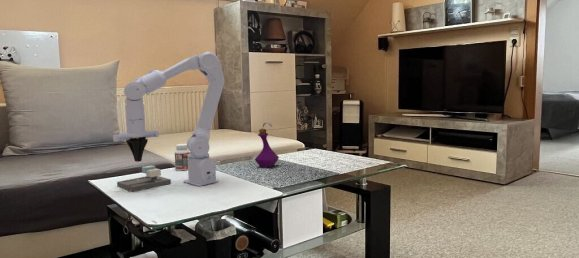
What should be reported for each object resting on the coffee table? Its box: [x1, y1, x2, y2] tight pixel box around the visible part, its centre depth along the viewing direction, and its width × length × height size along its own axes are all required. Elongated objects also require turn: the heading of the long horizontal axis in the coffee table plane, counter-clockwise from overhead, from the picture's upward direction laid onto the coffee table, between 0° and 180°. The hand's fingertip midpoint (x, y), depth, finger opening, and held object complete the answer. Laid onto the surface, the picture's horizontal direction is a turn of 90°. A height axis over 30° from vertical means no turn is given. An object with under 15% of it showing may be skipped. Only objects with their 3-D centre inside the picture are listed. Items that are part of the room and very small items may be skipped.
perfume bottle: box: [254, 121, 280, 169], centre depth 167 cm, size 8×8×18 cm
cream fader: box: [147, 168, 162, 180], centre depth 141 cm, size 3×4×3 cm
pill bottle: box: [174, 143, 191, 172], centre depth 165 cm, size 6×6×10 cm
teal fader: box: [141, 165, 157, 177], centre depth 146 cm, size 3×4×3 cm
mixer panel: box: [116, 175, 172, 192], centre depth 141 cm, size 11×14×2 cm
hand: (138, 161), depth 136 cm, fingers closed
